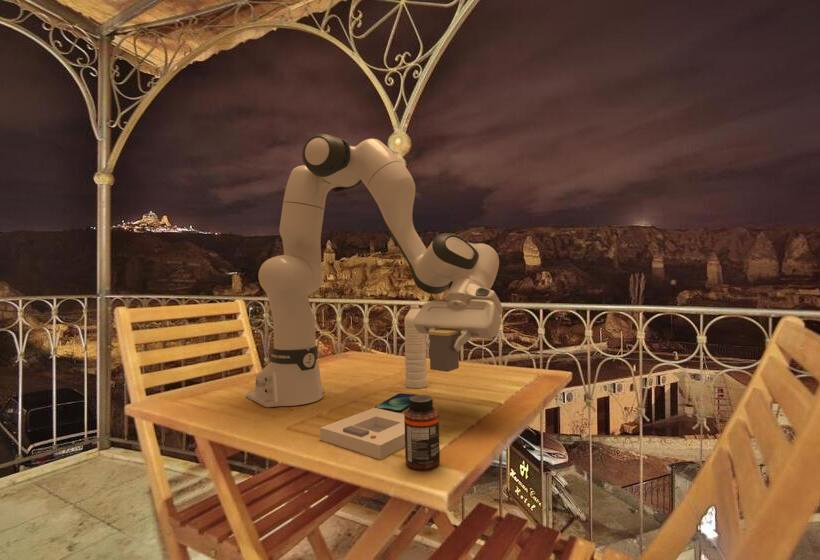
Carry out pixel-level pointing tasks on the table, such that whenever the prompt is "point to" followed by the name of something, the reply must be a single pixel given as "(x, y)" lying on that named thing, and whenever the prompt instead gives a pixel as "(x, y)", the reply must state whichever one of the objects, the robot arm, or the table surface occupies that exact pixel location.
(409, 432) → the supplement bottle
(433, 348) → the plug
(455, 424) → the table surface
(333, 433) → the socket plate
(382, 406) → the smartphone
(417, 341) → the water bottle
